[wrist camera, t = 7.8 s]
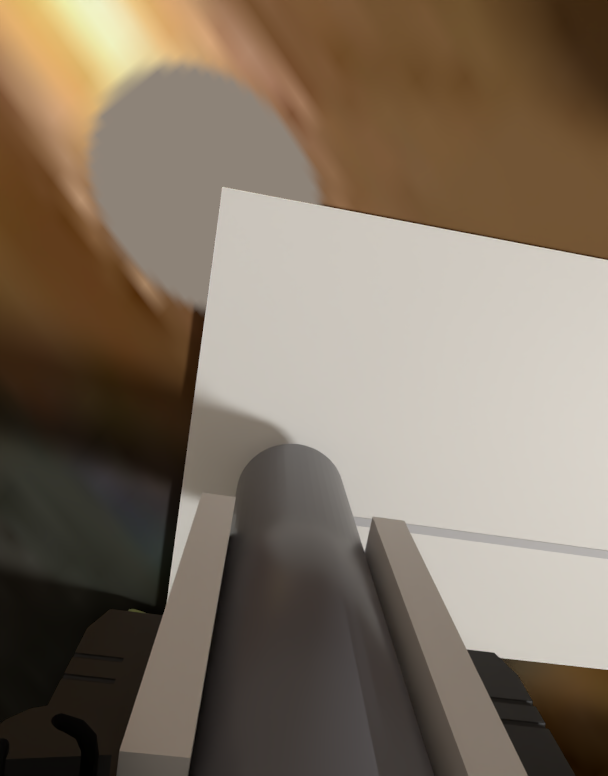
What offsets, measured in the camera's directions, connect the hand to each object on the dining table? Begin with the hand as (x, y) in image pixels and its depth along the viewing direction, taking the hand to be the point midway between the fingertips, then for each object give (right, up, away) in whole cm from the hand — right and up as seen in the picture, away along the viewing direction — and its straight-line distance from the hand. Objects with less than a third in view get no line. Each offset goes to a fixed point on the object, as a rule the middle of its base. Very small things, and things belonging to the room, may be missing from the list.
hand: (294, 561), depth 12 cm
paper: (+7, +1, +5) cm, 9 cm away
